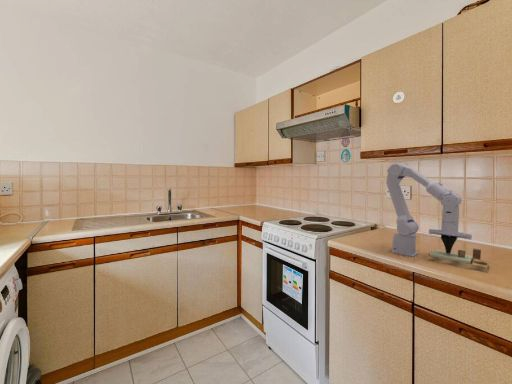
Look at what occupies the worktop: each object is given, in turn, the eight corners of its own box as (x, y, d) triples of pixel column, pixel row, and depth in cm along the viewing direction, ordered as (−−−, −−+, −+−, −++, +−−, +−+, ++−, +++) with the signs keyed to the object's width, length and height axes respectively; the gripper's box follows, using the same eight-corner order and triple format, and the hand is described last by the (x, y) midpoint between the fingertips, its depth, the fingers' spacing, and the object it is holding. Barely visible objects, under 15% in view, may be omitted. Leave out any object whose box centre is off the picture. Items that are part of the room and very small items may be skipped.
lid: (429, 255, 109) (430, 247, 109) (434, 251, 115) (434, 243, 115) (470, 263, 99) (470, 255, 99) (472, 258, 106) (473, 250, 106)
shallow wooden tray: (426, 261, 110) (426, 255, 109) (431, 256, 117) (431, 251, 116) (486, 273, 96) (487, 267, 96) (488, 267, 103) (488, 261, 103)
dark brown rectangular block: (472, 261, 109) (473, 248, 109) (480, 263, 108) (481, 249, 107) (472, 263, 108) (473, 249, 107) (479, 264, 106) (480, 250, 106)
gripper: (427, 220, 109) (426, 251, 110) (471, 225, 99) (469, 259, 100) (431, 218, 114) (429, 248, 115) (473, 223, 104) (471, 255, 105)
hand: (448, 252), depth 108 cm, fingers closed
